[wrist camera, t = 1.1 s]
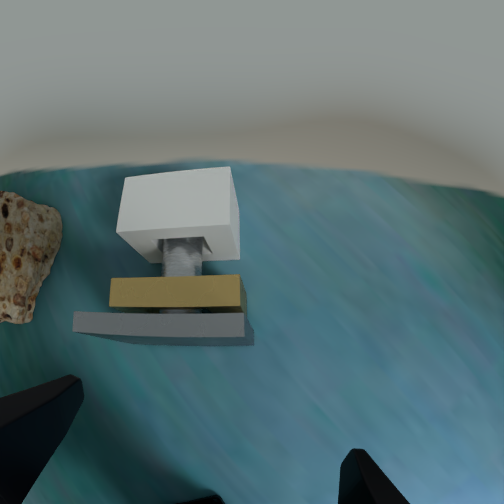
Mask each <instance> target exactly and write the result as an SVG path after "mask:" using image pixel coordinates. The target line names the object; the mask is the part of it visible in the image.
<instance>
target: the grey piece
mask: <svg viewBox="0 0 504 504" xmlns="http://www.w3.org/2000/svg"><path fill="white" fill-rule="evenodd" d="M202 249H203V237H185V238H168V239H164V243H163V256H162V272H161V277H178V276H202ZM73 332H77V333H81V334H86V335H90V336H95V337H100V338H105V339H110V340H115V341H120V342H126V343H131V344H144V345H170V346H250V345H254V330H253V328H252V326H251V325H250V323H249V321H248V319H247V317H246V316H245V314H244V313H213V314H201V309H188V310H160V314H137V313H101V312H78V311H74V318H73Z"/></svg>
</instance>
